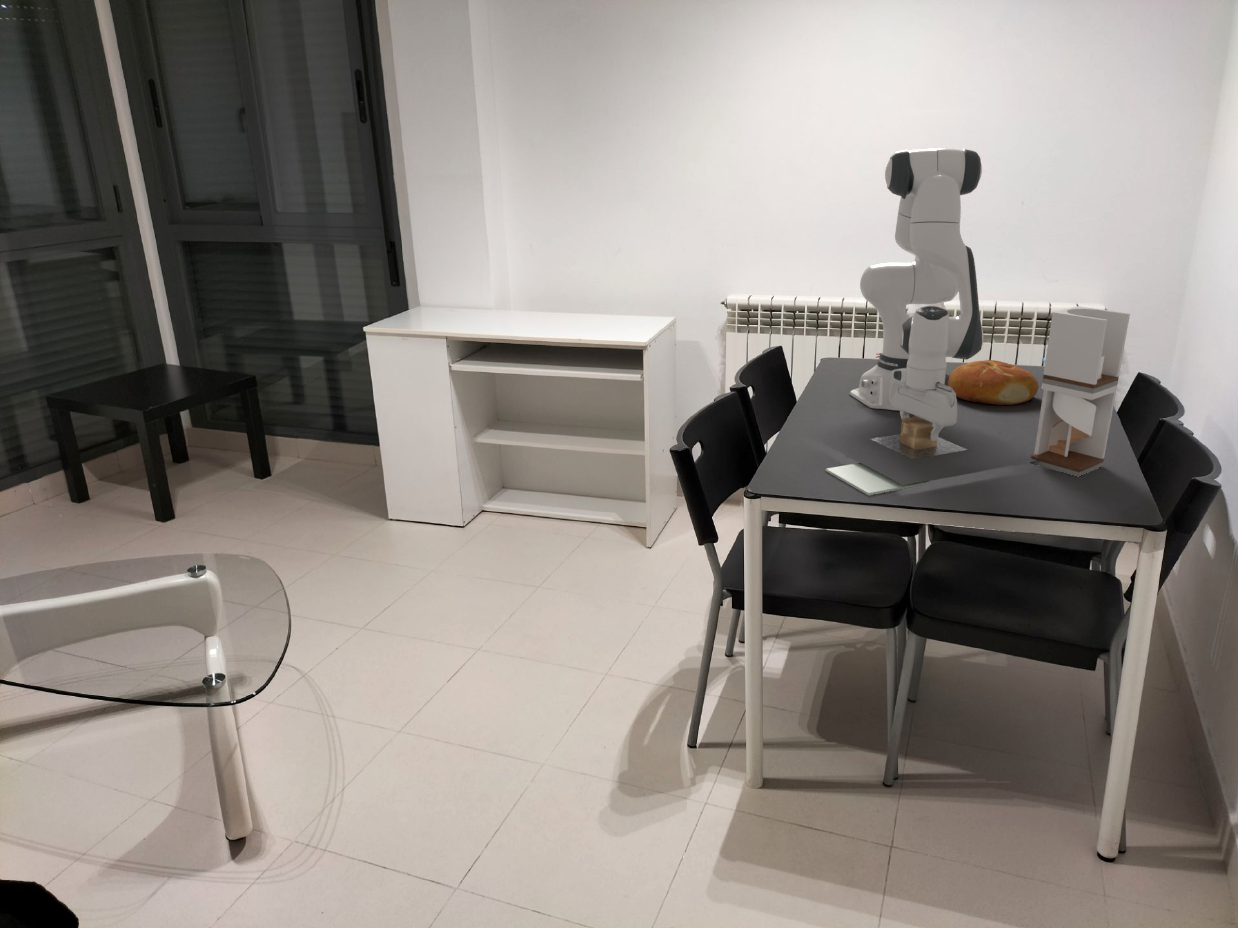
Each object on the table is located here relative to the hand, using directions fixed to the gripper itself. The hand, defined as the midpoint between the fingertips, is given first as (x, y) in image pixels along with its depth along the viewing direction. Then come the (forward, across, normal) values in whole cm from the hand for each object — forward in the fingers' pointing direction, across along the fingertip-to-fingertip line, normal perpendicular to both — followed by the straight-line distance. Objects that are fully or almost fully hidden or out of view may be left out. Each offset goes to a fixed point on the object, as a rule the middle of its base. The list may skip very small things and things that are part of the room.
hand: (919, 434), depth 220 cm
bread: (+4, +28, -48) cm, 56 cm away
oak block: (+3, 0, 0) cm, 3 cm away
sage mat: (+4, -11, +20) cm, 23 cm away
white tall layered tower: (+4, -22, -24) cm, 33 cm away
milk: (+4, +56, -46) cm, 73 cm away
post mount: (+4, 0, 0) cm, 4 cm away
